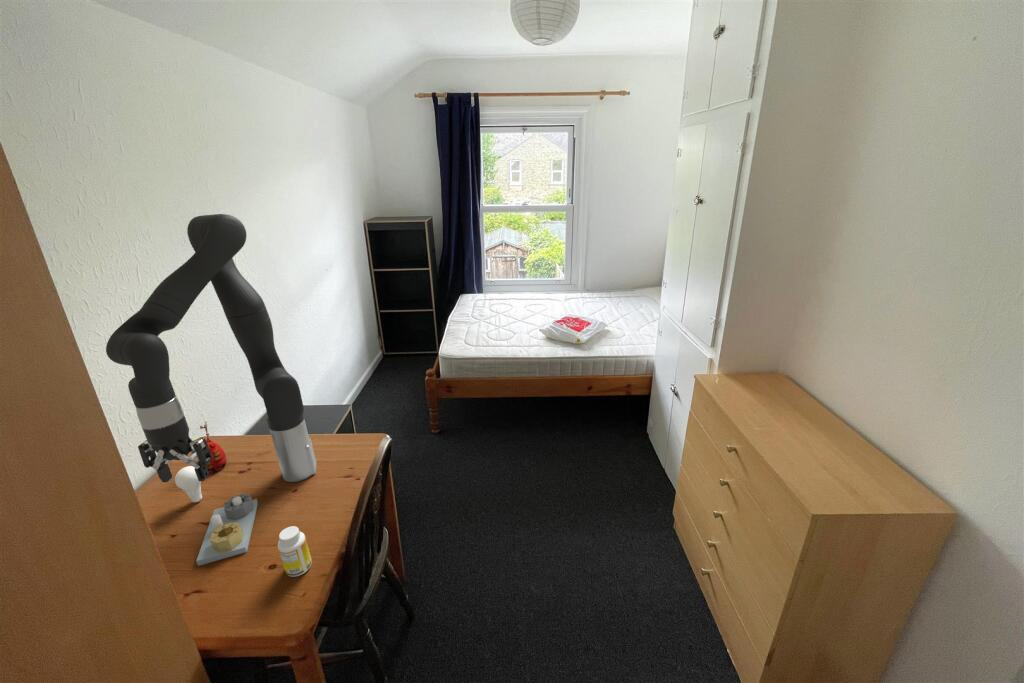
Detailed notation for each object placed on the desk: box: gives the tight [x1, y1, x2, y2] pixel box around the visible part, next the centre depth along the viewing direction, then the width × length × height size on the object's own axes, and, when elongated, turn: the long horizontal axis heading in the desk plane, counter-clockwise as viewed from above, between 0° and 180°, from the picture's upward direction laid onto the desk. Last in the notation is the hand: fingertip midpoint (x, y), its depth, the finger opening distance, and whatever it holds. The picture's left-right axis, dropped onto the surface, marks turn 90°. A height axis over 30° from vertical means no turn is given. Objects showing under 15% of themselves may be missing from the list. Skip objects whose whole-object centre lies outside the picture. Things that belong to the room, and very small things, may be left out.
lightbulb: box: [174, 465, 203, 503], centre depth 121 cm, size 6×6×11 cm
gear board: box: [195, 493, 259, 566], centre depth 110 cm, size 10×18×6 cm, turn 21°
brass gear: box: [210, 522, 244, 553], centre depth 106 cm, size 6×6×3 cm
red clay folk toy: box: [196, 421, 228, 474], centre depth 134 cm, size 8×7×15 cm
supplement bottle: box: [277, 525, 313, 578], centre depth 98 cm, size 6×6×10 cm
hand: (185, 479), depth 102 cm, fingers open, 8 cm apart
